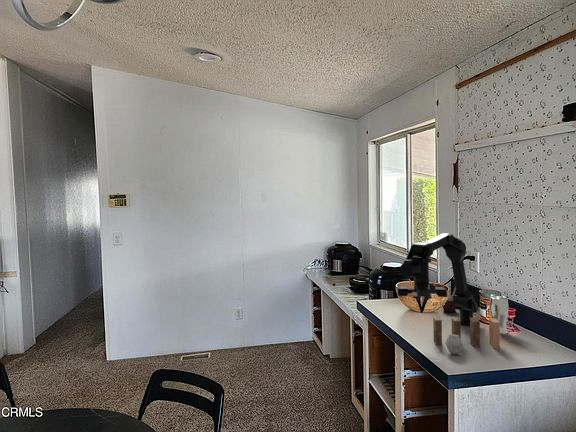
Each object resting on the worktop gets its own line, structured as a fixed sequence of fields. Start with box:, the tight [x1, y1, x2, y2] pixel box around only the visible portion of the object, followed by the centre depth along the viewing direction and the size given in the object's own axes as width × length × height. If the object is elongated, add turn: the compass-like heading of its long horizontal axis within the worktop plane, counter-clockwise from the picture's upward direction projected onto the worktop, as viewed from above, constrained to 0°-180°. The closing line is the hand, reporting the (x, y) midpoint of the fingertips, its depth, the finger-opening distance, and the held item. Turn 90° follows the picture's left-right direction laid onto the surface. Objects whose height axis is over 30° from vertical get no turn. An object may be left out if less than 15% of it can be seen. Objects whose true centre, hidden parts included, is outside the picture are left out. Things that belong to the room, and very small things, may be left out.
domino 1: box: [432, 315, 443, 346], centre depth 158 cm, size 2×5×10 cm, turn 168°
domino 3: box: [469, 317, 481, 348], centre depth 155 cm, size 2×5×10 cm, turn 168°
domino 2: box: [451, 316, 462, 340], centre depth 157 cm, size 2×5×10 cm, turn 168°
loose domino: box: [488, 317, 501, 349], centre depth 154 cm, size 2×5×10 cm, turn 168°
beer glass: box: [489, 295, 509, 335], centre depth 168 cm, size 7×7×15 cm
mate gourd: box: [442, 286, 457, 315], centre depth 198 cm, size 8×8×15 cm
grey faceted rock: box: [445, 333, 464, 355], centre depth 147 cm, size 6×7×7 cm
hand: (421, 312), depth 159 cm, fingers closed
